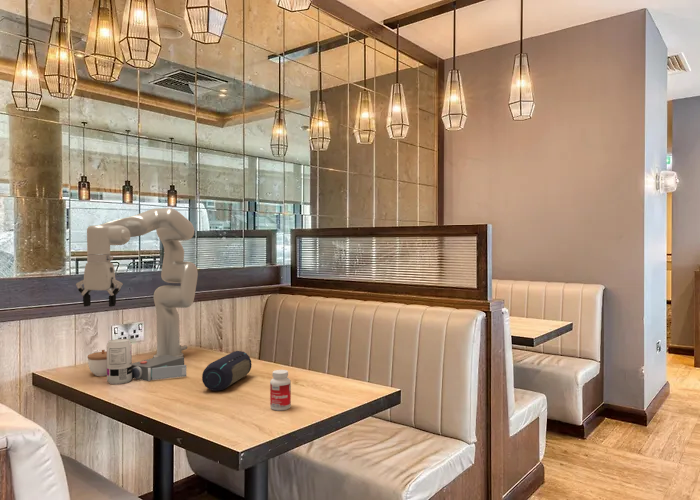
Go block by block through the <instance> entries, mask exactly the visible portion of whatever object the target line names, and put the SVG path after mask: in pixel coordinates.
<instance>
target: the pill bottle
mask: <svg viewBox="0 0 700 500" xmlns="http://www.w3.org/2000/svg"><path fill="white" fill-rule="evenodd" d="M271 374H272V375H271V376H272V378H271V379H270V382H269V383H270V385H269V387H270V388H269V392H270V395H269V397H270V398H269V399H270V400H269V401H270V402H269V403H270V405H269V406H270V407H269V408H270V409H271V410H272V411H286V410H289V409H290V408H291V406H292V405H291V402H292V401H291V399H292V395H291V392H292V391H291V390H292V389H291V387H292V386H291V385H292V384H291V379H290V378H289V371H288V370H287V369H276V370H273V371H272V373H271Z"/></svg>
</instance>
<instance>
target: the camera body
mask: <svg viewBox="0 0 700 500" xmlns="http://www.w3.org/2000/svg"><path fill="white" fill-rule="evenodd" d="M179 365H185V357H184V356H183V357H177V356H169V355H163V356H159V357H155V358H153V357H151V358H148V359H145V360H141V361H137V362H132V379H133V380H138V381H139V380H140V381H146V382H151V381H153V380H152V368H159V367H169V366H179ZM132 379H131V380H132Z"/></svg>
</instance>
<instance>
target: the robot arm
mask: <svg viewBox="0 0 700 500" xmlns="http://www.w3.org/2000/svg"><path fill="white" fill-rule="evenodd" d="M153 231H156V235H157V237H158V239H159V240H160V242H161V244H162V245H163V249H164V253H163V260H162V266H161V271H160V272H161V273H160V277H161V280H162V281H164V282H165V283H169V284H180V285H160V286H159V287H157V288H156V289H155V290H154V293H153V302H154V305H155V306H154V307H155V314H156V315H155V316H156V353H155V354H154V355H152V358H155V357H159V356H163V355H169V356H177V357H184V353H183V351H184V350H187V349H188V345H186V344H185V345H182V344H181V345H180V343H181V342H180V339H181V338H180V336H181V335H180V314H179V312H178V310H177V309H178V308H179V309H180V308H181V309H185V308H190V307H191V306H192V305H193V303H194V301H195V296H196V289H197V283H198V277H199V275H198V272H199V271H198V268H197V266H196V264H195V263H193V262H191V261H184V259H185V249H184V247H183V245H182V243H181V242H180V241H189V240H191V239H192V238H193V237H194V234H195V227H194V224H193V223H192V222H191V221H190V220H189V219H188V218H187V217H185V215H183V214H182V213H180V212H179V211H178V210H176V209H175V208H169V207H167V208H165V207H163V208H161V207H160V208H159V207H157V208H152V209H149V210H145V211H143V212H140V213H137V214H135V215H132V216H126V217H123V218H120V219H115V220H111V221H110V220H109V221H107V222H105V223H102V224H99V225H97V224H95V225H89V226H88V227H87V228H86V245H87V246H86V247H87V248H86V249H87V250H86V252H87V253H86V254H87V255H86V256H87V263H85V266H84V273H83V279H82V280H80V281H78V282H76V284H75V286H76V287H77V290H78V292H79V293H80V294H81V296H82V303H83V307H90V306H91V300H92V299H91V298H92V297H91V294H90V293H91V292H92V291H107V293H108V294H109V295H108V307H111V308H112V307H115V306H116V304H117V295H118V293H120V291H121V288H122V286H123V285H124V284H123V282H121V281H119V280H117V278H116V272H115V267H114V264H113V263H114V262H111V261H112V260H113V259H114V256H113V255H111V246H123V245H126V244H127V243H128V242H129V241H130V239H131V238H136V237H140V236H145V235H147V234H149V233H150V232H153Z"/></svg>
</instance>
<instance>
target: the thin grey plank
mask: <svg viewBox="0 0 700 500" xmlns="http://www.w3.org/2000/svg"><path fill="white" fill-rule="evenodd" d="M187 375H188V374H187V364H184V365H179V366H169V367H159V368H152V380H151V381H156V380H167V379H175V378H185V377H187Z"/></svg>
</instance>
